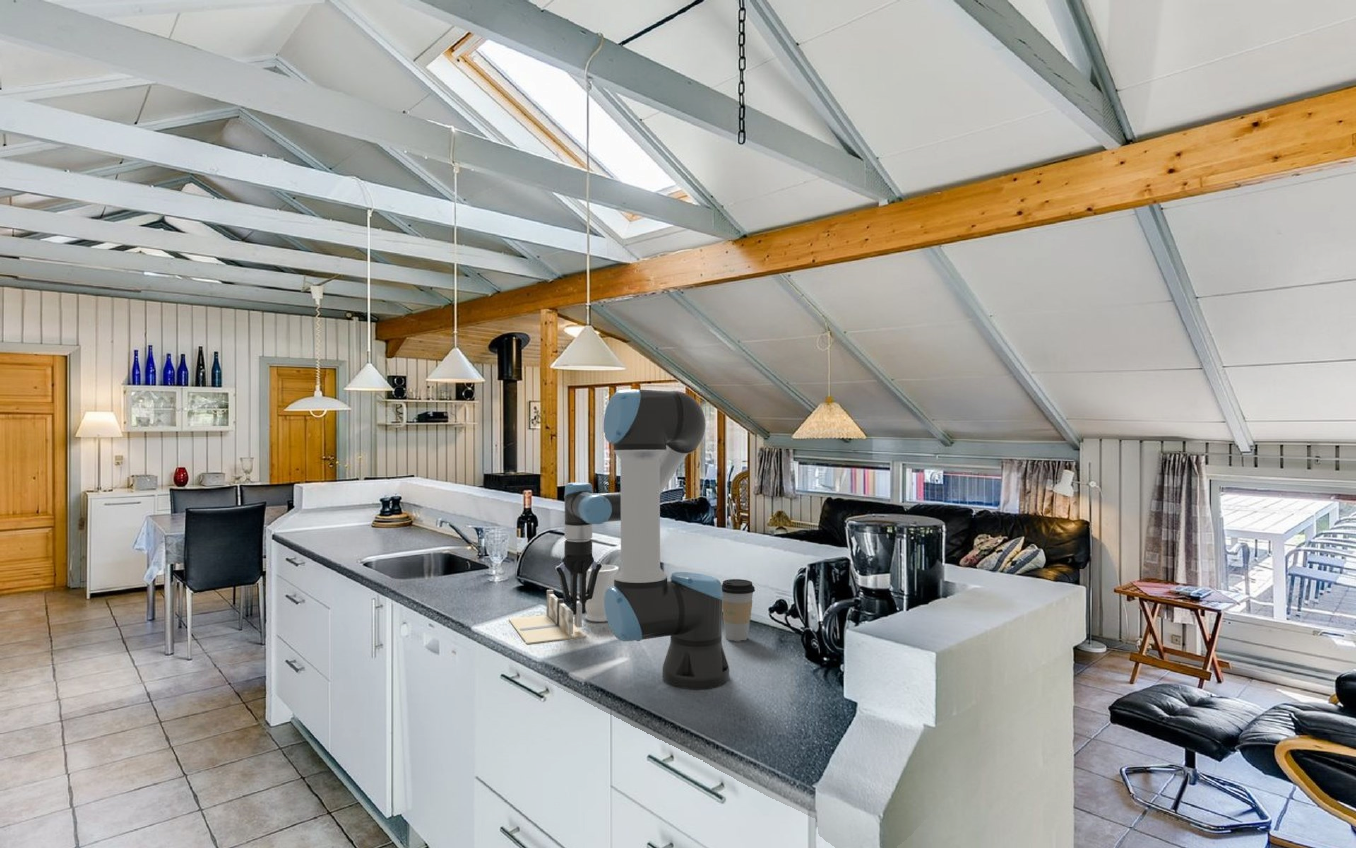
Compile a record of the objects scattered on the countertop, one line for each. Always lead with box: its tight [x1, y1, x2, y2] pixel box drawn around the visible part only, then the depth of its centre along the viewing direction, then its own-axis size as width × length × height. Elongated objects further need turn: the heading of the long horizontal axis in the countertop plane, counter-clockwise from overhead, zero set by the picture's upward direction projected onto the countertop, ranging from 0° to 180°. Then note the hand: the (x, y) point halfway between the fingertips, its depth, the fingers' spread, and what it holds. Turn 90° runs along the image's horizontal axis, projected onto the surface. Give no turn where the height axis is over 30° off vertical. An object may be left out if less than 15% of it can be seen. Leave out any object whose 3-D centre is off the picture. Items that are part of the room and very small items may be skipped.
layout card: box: [508, 614, 587, 645], centre depth 195 cm, size 24×16×1 cm, turn 24°
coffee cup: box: [721, 578, 756, 642], centre depth 188 cm, size 9×9×15 cm
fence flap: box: [557, 598, 574, 635], centre depth 192 cm, size 12×2×7 cm, turn 24°
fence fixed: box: [546, 589, 560, 626], centre depth 201 cm, size 14×2×7 cm, turn 24°
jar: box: [584, 563, 620, 623], centre depth 205 cm, size 11×10×15 cm
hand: (578, 625), depth 191 cm, fingers closed
